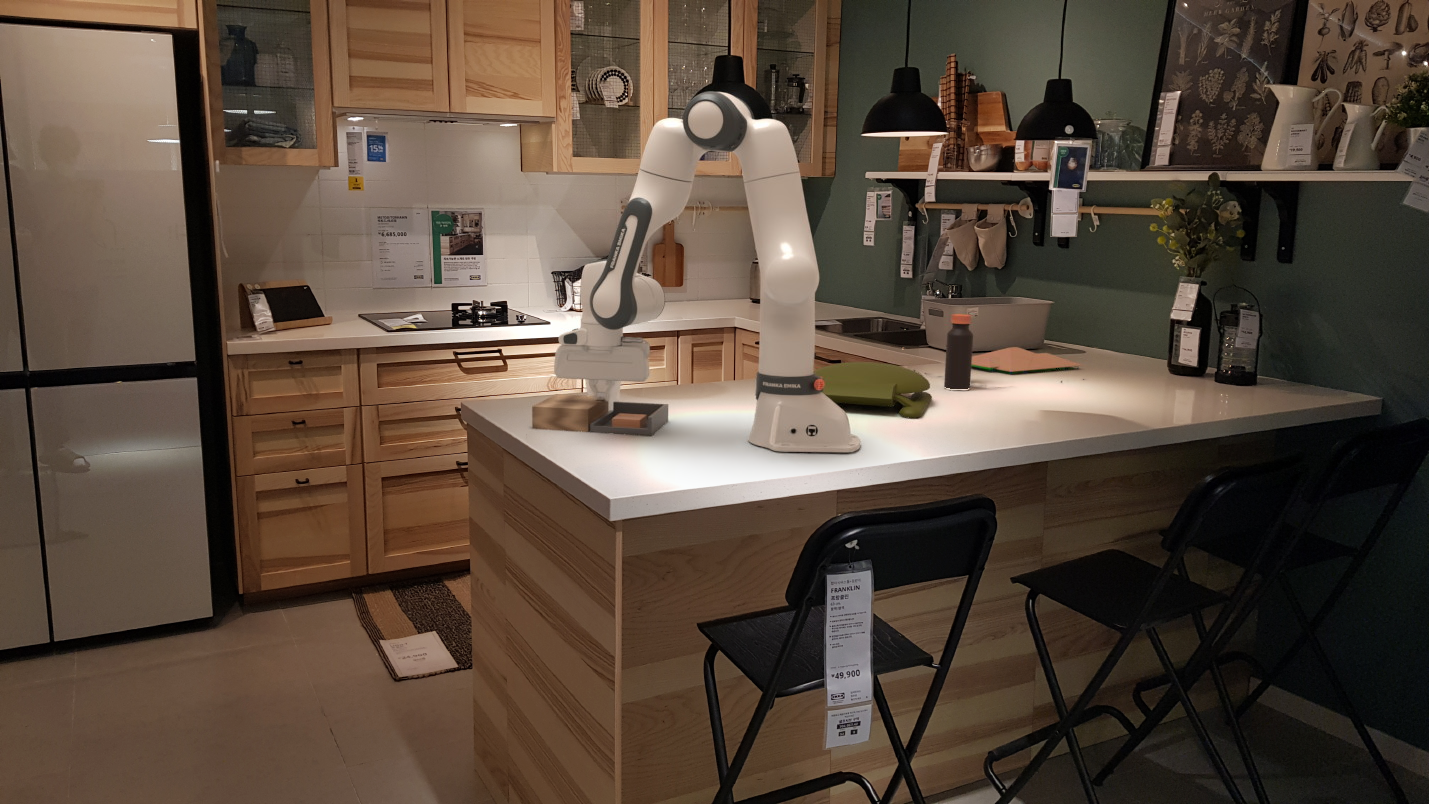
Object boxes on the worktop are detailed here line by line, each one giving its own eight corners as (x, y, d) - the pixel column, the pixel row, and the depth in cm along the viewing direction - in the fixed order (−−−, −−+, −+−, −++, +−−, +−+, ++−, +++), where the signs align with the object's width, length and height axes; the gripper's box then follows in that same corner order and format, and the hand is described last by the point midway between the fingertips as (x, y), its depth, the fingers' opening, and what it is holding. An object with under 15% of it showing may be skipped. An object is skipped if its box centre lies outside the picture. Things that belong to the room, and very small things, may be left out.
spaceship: (920, 421, 246) (922, 378, 244) (788, 411, 254) (789, 370, 253) (935, 397, 279) (937, 359, 277) (817, 389, 287) (819, 352, 286)
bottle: (972, 391, 285) (977, 316, 282) (946, 391, 285) (951, 315, 282) (966, 387, 292) (971, 314, 289) (941, 387, 292) (946, 313, 289)
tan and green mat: (946, 372, 323) (947, 345, 322) (1022, 365, 341) (1024, 340, 339) (1003, 383, 304) (1005, 354, 303) (1081, 376, 322) (1083, 348, 320)
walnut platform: (608, 418, 238) (608, 396, 238) (587, 433, 223) (587, 409, 222) (556, 416, 240) (556, 394, 240) (532, 430, 225) (532, 406, 224)
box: (668, 422, 236) (668, 404, 236) (651, 436, 221) (651, 417, 220) (610, 419, 238) (610, 401, 238) (590, 433, 223) (590, 414, 222)
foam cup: (586, 415, 241) (586, 358, 239) (579, 408, 250) (579, 353, 248) (627, 414, 244) (628, 357, 242) (619, 407, 253) (620, 352, 251)
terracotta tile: (619, 413, 233) (619, 422, 233) (612, 418, 227) (612, 427, 227) (646, 414, 232) (646, 423, 232) (640, 419, 226) (640, 429, 226)
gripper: (653, 336, 229) (652, 400, 231) (560, 332, 232) (561, 396, 234) (646, 339, 222) (646, 405, 225) (551, 336, 226) (551, 401, 228)
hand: (601, 400), depth 230 cm, fingers closed
